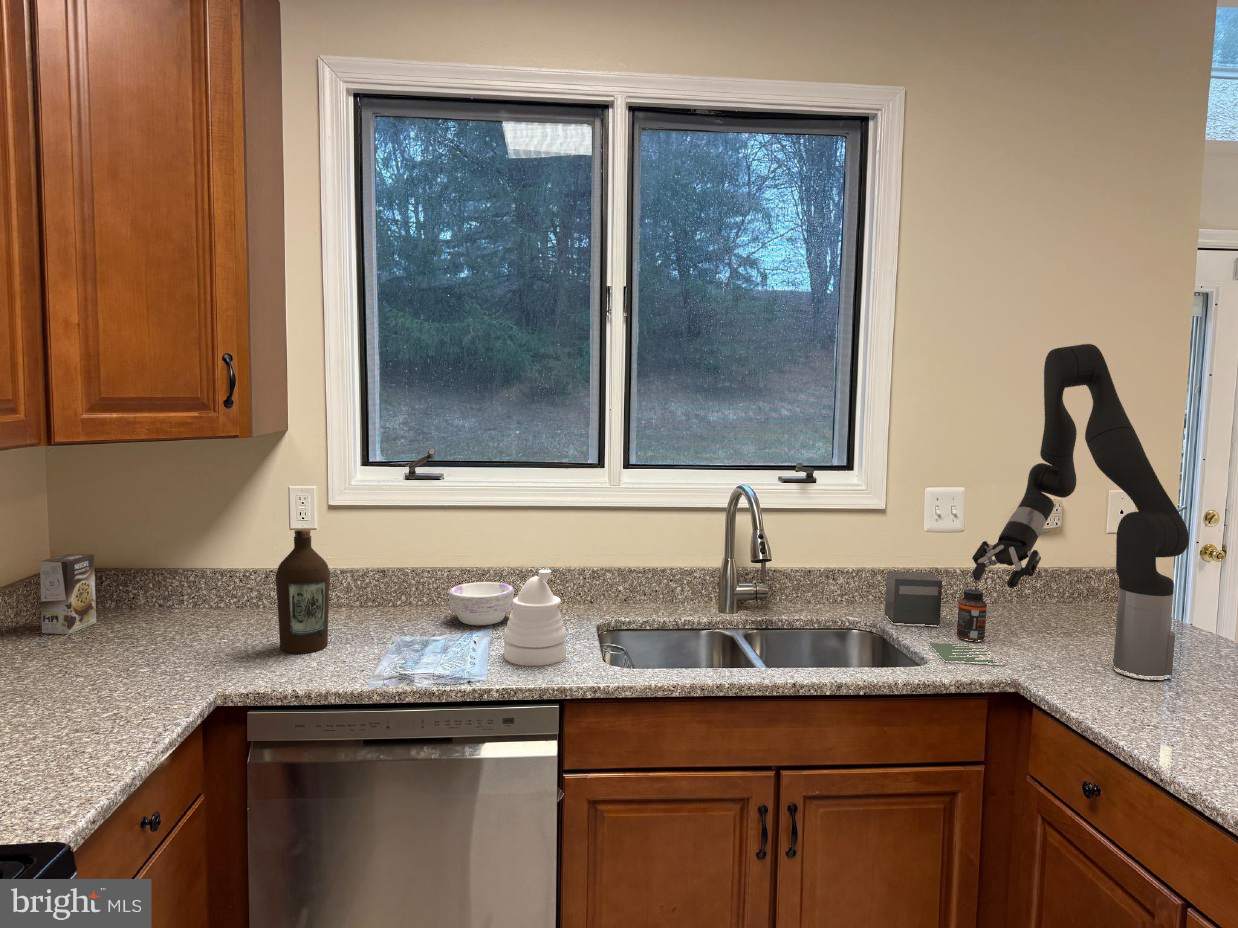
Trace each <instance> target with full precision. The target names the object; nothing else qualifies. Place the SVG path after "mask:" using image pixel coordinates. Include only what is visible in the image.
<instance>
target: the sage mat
mask: <svg viewBox="0 0 1238 928" xmlns="http://www.w3.org/2000/svg"><path fill="white" fill-rule="evenodd" d="M929 644H930V645H931V646H932V647H933V648H934V649H935V650H936V652H937V653H939V655H940V656H941V657H942V658H943V659H944V660H945V661H965V662H988V663H990V662H991V663H997V662H993V660H975V658H979V657H949V656H955V655H956V656H967V655H969V656H972V655H987V654H952V653H969V652H974V653H975V652H988V651H964V650H972V649H984V648H955V647H969V646H952V645H958V644H959V643H944V642H941V643H940V642H928V645H929ZM987 649H989V648H988V647H987ZM952 650H963V651H952ZM991 652H993V651H992V650H991ZM988 655H990V654H988ZM964 659H966V660H964Z"/></svg>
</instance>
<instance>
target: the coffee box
mask: <svg viewBox="0 0 1238 928" xmlns="http://www.w3.org/2000/svg"><path fill="white" fill-rule="evenodd" d="M39 573H40V575H39V577H40V579H39V580H40V582H39V583H40V605H41V606H40V607H41V608H40V610H41V611H40V613H41V615H40V616H41V634H56V635H70V634H72V633H75V632H78V631H80V630H82V629H84V628H87V627H89V626H92V625H94V624H96V623H97V608H96V607H97V606H96V579H95V578H96V576H95V554H94V553H76V554H75V553H74V554H73V553H67V554H64V555H59V556H56V557H51V558H48V559H45V560H40V561H39Z"/></svg>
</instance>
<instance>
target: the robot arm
mask: <svg viewBox="0 0 1238 928" xmlns="http://www.w3.org/2000/svg"><path fill="white" fill-rule="evenodd" d="M1043 367H1044V368H1043V399H1044V400H1043V404H1044V405H1043V407H1044V408H1043V409H1044V425H1043V434H1042V439H1041V447H1040V452H1039V455H1040V457H1041V459H1042V460H1043V461H1044V462H1045V463H1044V462H1040V463H1036V464H1035V465H1033V466H1032V468H1031V469H1030V470H1029V472H1028V477H1027V485H1026V488H1025V492H1024V495H1023V496H1022V499H1021V501H1020V503H1019V504H1018V506H1017V508H1016V509H1015V511H1014V512H1013V513H1012V514H1011V515H1010V516H1009V519H1008V521H1007V522H1006V524H1005V525H1004V527H1003V529H1002V531H1001V532H1000V534H999V536H998V539H997V542H996V543H995V544H990V543H988V541H986V540H984V541H982V543H981V544H980V546H979V547H978V548H977V550H976V551H975V552H974V554H973V556H972V557H971V559H972V561H973V562H974V564H975V565H976V566H975V567H974V569H973V571H972V573H971V574H972V578H973V579H974V580H975V581H976V582H979V581H980V580H981V578H982V577H983V575H984V573H985V572H986V569H987V568H989V567H992V566H993V567H994V566H996V565H998V564H999V565H1007V566H1008V567H1009V566H1010V567H1013V566H1014V569H1015V570H1013V571H1012V573H1011V574H1010V576H1009V578H1008V580H1006V581H1007V582H1006V585H1007V587H1008V588H1009V589H1014V588H1016V587H1017V586H1018V585H1019V583H1020V581H1021V579H1022V578H1023V577H1025V576H1028V577H1033V576H1034V575H1035V572H1036V570H1037V568H1038V567H1039V565H1040V564H1039V563H1040V562H1041V559H1042V556H1041V554H1040V553H1039V552H1038V550H1037V549H1033V548H1034V546H1035V544H1036V543H1037V541H1038V540H1039V537H1040V536H1041V534H1042V532H1043V530H1044V528H1045V525H1046V524H1047V521H1048V520H1049V518H1050V516H1051V514H1052V512H1053V510H1054V509H1055V503H1054V501H1053V499H1052V498H1051V497H1049V496H1048V495H1051V496H1053V497H1056V498H1062V499H1064V498H1068V497H1070V496H1071V495H1072V494H1073V493H1074V492H1075V489H1076V487H1077V473H1076V467H1075V463H1074V452H1075V446H1076V442H1077V434H1078V433H1077V426H1076V423H1075V421H1074V420H1073V418H1072V416H1071V414H1070V413H1069V411H1068V409H1067V407H1066V406H1065V403H1064V400H1063V397H1064V392H1065V389H1066V388H1072V387H1073V388H1074V387H1080V386H1086V387H1087V388H1088V390H1089V392H1090V395H1091V399H1092V407H1091V411H1090V415H1089V418H1088V421H1087V424H1086V427H1085V434H1084V439H1085V442H1086V443H1085V444H1086V446H1087V448H1088V451H1089V452H1090V455H1091V457H1092V459H1093V461H1094V464H1095V465H1096V466H1097V468H1098V469H1099V471H1101V472H1102V473H1103V474H1104V475H1105V477H1107V478H1108V479H1109V480H1111V482H1113V484H1115V485H1116V487H1118V488H1120V489H1121V490H1122V492H1124V493H1125V494H1126V495H1127V496H1128V497H1129V498H1130V499H1131V501H1132V502H1133V504H1134V506H1135V508H1136V510H1137V511H1130V512H1128V513H1126V514H1125V515H1124V516H1122V518H1121V519H1120V521H1119V524H1118V525H1117V531H1116V540H1115V546H1116V547H1115V548H1116V549H1115V551H1116V553H1115V554H1116V555H1115V556H1116V557H1115V569H1116V574H1117V577H1118V594H1117V595H1118V596H1117V608H1116V624H1115V636H1114V648H1113V649H1114V650H1113V658H1112V661H1113V663H1112V664H1113V665H1114V666H1115V667H1116V668H1119V669H1120V670H1123V671H1127V672H1129V673H1134V674H1136V675H1144V676H1164V675H1172V676H1173V667H1174V655H1175V645H1176V644H1175V643H1176V633H1175V632H1174V631H1172V630H1171V629H1172V617H1173V605H1174V603H1173V602H1174V592H1175V582H1174V580H1173V579H1172V578H1170V577H1169V576H1166V575H1163V574H1161V573H1160V572H1159V571H1158V570H1157V558H1173V557H1177V556H1181V555H1182V554H1183V553H1184V552H1185V551H1186V550H1187V548H1188V546H1189V541H1190V538H1189V530H1188V526H1187V525H1186V523H1185V521H1184V519H1183V516H1182V515H1181V513H1180V512H1179V510H1178V508H1177V507H1176V506H1175V504H1174V502H1173V501H1172V500H1171V498H1170V496H1169V495H1168V493H1167V492H1166V490H1165V488H1164V487H1163V485H1162V483H1161V481H1160V480H1159V478H1158V476H1157V474H1156V472H1155V470H1154V467H1153V465H1152V464H1151V462H1150V460H1149V458H1148V456H1147V454H1146V452H1145V450H1144V448H1143V445H1142V443H1141V441H1140V438H1139V437H1138V434H1137V432H1136V430H1135V428H1134V426H1133V424H1132V422H1131V421H1130V418H1129V416H1128V415H1127V413H1126V411H1125V409H1124V407H1123V404H1122V402H1121V400H1120V397H1119V395H1118V392H1117V390H1116V387H1115V384H1114V382H1113V379H1112V376H1111V373H1110V370H1109V366H1108V364H1107V362H1106V359H1105V357H1104V355H1103V353H1102V351H1101V350H1100V349H1099V347H1098V346H1096V345H1095V344H1093V343H1082V344H1075V345H1069V346H1062V347H1057V348H1053V349H1051V350H1050V351H1049V352H1048V353H1047V355H1046V357H1045V360H1044V366H1043ZM993 557H994V558H995V559H993ZM1026 559H1027V562H1026V564H1025V566H1024V567H1023V564H1022V562H1023V561H1025V560H1026ZM1113 665H1112V666H1113Z"/></svg>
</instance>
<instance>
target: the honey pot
mask: <svg viewBox="0 0 1238 928" xmlns="http://www.w3.org/2000/svg"><path fill="white" fill-rule="evenodd" d="M551 576H552V570H550V569H540V570H538V576H537V575H536V576H532V577H530V578H529V579H528V580H527V581H526V582H525V583H524V584H523V586H522V588H521V589H520V591H519V593H518V595H517V596H516V597H514V599H513V605H514V606H513V608H512V610H511V613H510V614H509V616H508V617H509V618H508V621H507V625H506V627H505V629H504V633H503V634H504V635H503V637H504V638H503V640H504V641H503V652H504V653H503V658H504V659H505V660H506V661H507V662H509V663H512V664H514V665H519V666H527V667H532V666H533V667H538V666H539V667H540V666H548V665H552V664H557V663H559V662H561V661H564V660H565V659H566V657H567V632H566V628H565V626H564V621H563V619H562V613H560V611H559V608H558V606H560V605H561V603H562V602H561V601H562V600H561V598H560V597H558V596H557V595H554V594H553V592H552V590H551V589H550V586H549V585H548V584H547V582H546V581H548V580H549V579H550V578H551Z"/></svg>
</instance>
